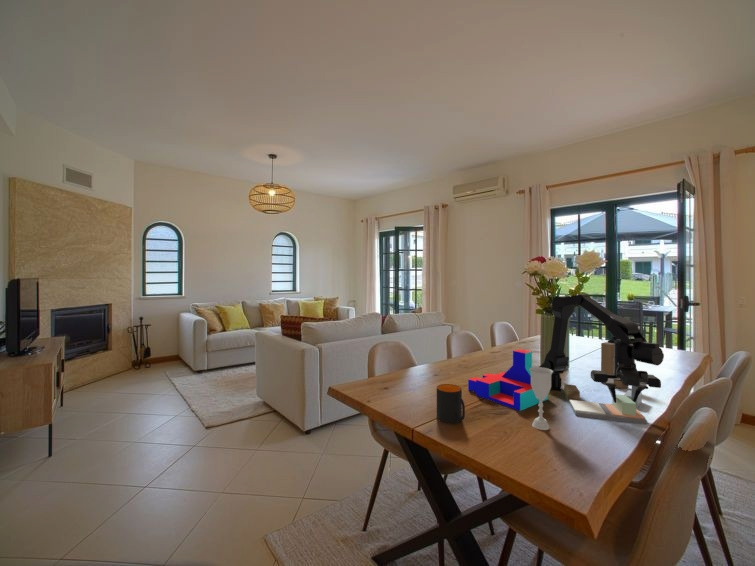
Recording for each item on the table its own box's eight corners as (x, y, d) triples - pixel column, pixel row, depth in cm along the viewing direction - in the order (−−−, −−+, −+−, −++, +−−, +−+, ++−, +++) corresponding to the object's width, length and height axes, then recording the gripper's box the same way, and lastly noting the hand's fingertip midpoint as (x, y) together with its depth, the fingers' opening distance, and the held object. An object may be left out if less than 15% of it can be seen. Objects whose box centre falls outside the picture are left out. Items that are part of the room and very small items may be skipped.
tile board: (575, 415, 114) (575, 410, 114) (569, 402, 125) (569, 398, 125) (646, 424, 107) (646, 419, 107) (633, 410, 118) (633, 405, 118)
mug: (453, 430, 104) (453, 397, 104) (431, 416, 115) (431, 386, 114) (474, 425, 107) (474, 393, 107) (451, 411, 118) (451, 382, 118)
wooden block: (628, 387, 141) (629, 345, 141) (622, 389, 140) (622, 346, 139) (607, 381, 150) (607, 341, 149) (600, 383, 148) (600, 342, 148)
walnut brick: (567, 400, 128) (567, 390, 128) (564, 393, 135) (564, 384, 135) (579, 402, 127) (579, 391, 126) (575, 395, 134) (575, 385, 134)
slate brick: (623, 405, 123) (623, 394, 123) (628, 400, 128) (628, 389, 128) (637, 408, 120) (637, 397, 120) (641, 402, 125) (641, 392, 125)
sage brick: (622, 414, 111) (622, 402, 111) (612, 405, 119) (612, 394, 119) (636, 415, 110) (636, 403, 110) (625, 406, 118) (625, 395, 117)
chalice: (532, 419, 111) (532, 365, 111) (555, 425, 107) (555, 369, 106) (526, 427, 105) (526, 370, 105) (549, 433, 101) (550, 374, 101)
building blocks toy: (492, 383, 150) (492, 342, 149) (547, 400, 129) (548, 353, 129) (464, 392, 139) (464, 348, 138) (520, 411, 118) (520, 360, 118)
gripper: (598, 361, 110) (598, 408, 110) (669, 366, 103) (668, 416, 103) (590, 354, 120) (590, 397, 120) (654, 358, 113) (653, 403, 114)
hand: (623, 403), depth 114 cm, fingers open, 5 cm apart
